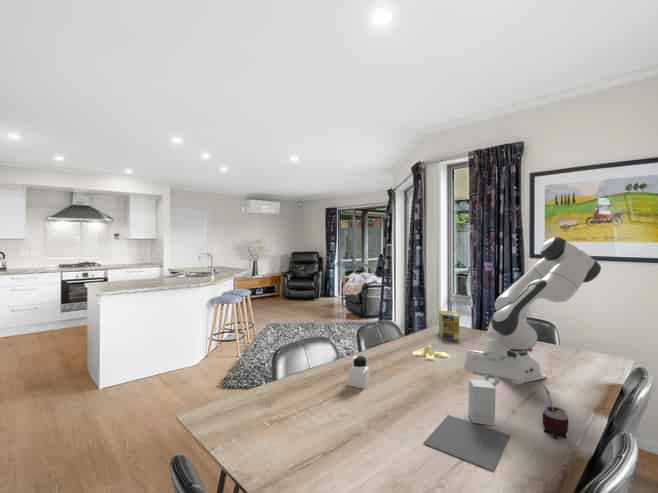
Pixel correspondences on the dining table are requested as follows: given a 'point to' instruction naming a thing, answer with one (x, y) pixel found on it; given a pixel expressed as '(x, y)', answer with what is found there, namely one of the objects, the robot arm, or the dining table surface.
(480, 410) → the supplement box
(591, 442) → the dining table surface
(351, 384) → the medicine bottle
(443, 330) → the protein box
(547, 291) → the robot arm
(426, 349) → the banana bunch
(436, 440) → the mat
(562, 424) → the mate gourd
